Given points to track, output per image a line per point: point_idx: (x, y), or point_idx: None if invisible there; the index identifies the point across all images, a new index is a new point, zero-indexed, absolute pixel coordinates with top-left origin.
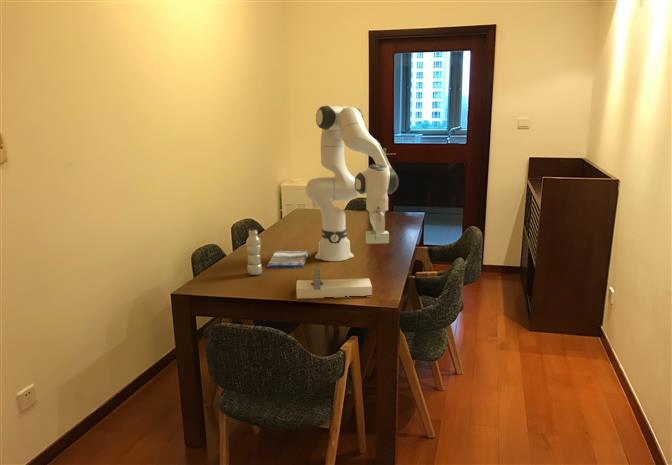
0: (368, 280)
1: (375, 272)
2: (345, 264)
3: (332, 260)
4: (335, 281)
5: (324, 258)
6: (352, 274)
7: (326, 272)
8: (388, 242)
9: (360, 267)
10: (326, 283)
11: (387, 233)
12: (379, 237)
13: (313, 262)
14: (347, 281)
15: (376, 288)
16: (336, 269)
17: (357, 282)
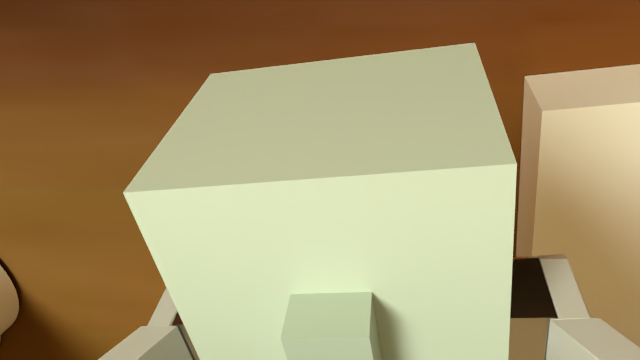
0: (603, 116)
1: (141, 31)
2: (33, 222)
3: (10, 288)
4: None
5: (6, 325)
6: None
7: None
8: (475, 59)
9: (59, 138)
10: None
11: (497, 207)
12: (585, 321)
13: (65, 354)
14: (594, 254)
15: (548, 19)
16: (148, 264)
17: (636, 194)
